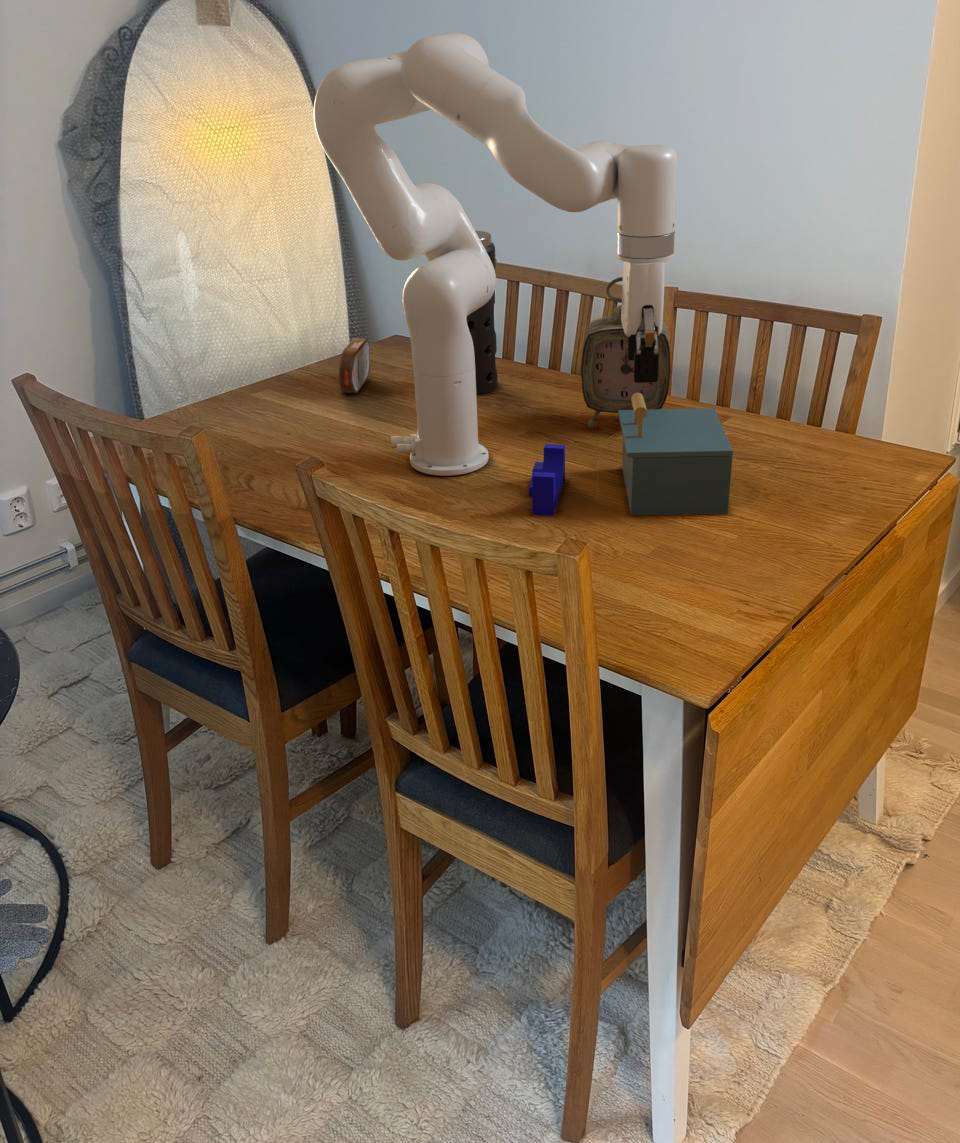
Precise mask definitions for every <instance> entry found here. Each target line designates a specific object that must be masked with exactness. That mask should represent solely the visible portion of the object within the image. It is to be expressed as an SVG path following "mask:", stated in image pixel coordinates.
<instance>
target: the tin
mask: <svg viewBox="0 0 960 1143" xmlns="http://www.w3.org/2000/svg"><path fill="white" fill-rule="evenodd" d="M370 348H371V345H370V342H369V340H368V339H367V338H359V337H353V338H352V339H351V341H349V343H348V344H347V345H346V346H345V347H344V349H343V350H342V352H341V355H340V360H339V370H338V381H339V382H338V383H339V388H340V391H341V393H342V394H357V393H358V392H359V391H360V390H361V389H362V387H363V386H364V385H365V383H366V382H367V380H368V378H369V374H370V369H371V359H370V356H371V355H370V353H371V352H370V350H371V349H370Z"/></svg>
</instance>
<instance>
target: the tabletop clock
mask: <svg viewBox="0 0 960 1143" xmlns="http://www.w3.org/2000/svg"><path fill="white" fill-rule="evenodd" d="M619 282H623V276H619V277H616V278H614V279H612V280H611V281H610V282H609V283H608V285H607V286H606V290H605V292H606V295H607V297H608V298H609V299H610V300H611V301H613V302H617V303H619V304H620V305H617V306H616V307H615V308H614V310H613V311H612V314H611V316H603V317H598V318H595V319H593V320H592V321H590V322H589V324H588V326H587V328H586V332H585V337H584V341H583V347H582V356H581V365H580V376H581V377H580V378H581V391H582V396H583V400H584V402H585V405H586V407H587V408H588V409H590V410H593V411H595V412H594V413H593V414H594V415H593V417H592V418H590V419H589V420H587V427H588V428H589V429H595V428H596V427H597V425H598V423H597V418H598V417H599V415H600V413H609V414H618V413H619V410H633V406H632V402H631V396H632V395H633V394H634V393H641V394H642V395H643V398H644V402H645V405H646V409H647V410H648V409H663V407H664V405H665V403H666V401H667V397H668V393H669V388H670V381H671V374H672V373H671V371H672V370H671V368H672V367H671V365H672V364H671V345H670V336H669V330H668V327H667V324H666V322H665V321H664V320H663V323H662V332H661V333H660V335H658V336H657V344H658V353H659V358H658V380H657V382H646V383H636V382H635V381H634V360H632V361H630V360H629V359H628V336H626V334H625V333H624V329H623V326H622V322H621V310H622V297H621V298H620V297H616V296H614V295H612V294H611V293H610V289H611V287H612V286H613V285H614V284H617V283H619Z"/></svg>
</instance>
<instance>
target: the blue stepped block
mask: <svg viewBox="0 0 960 1143" xmlns="http://www.w3.org/2000/svg"><path fill="white" fill-rule="evenodd" d="M565 482H566V444H557V443H545V444H544V446H543V461H535V462H534V465H533V466H532V472H531V478H530V484H529V488H528V491H529V492H528V497H532V515H537V516H551V517H552V516H553V517H554V516H555V513H556V509H557V506H558V503H559V501H560V498H561V494H562V491H563V488H564V485H565Z"/></svg>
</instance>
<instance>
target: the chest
mask: <svg viewBox="0 0 960 1143" xmlns="http://www.w3.org/2000/svg"><path fill="white" fill-rule="evenodd" d="M621 457H622V460H621V470H622V475H623V481H624V485H625V491H626V495H627V501H628V506H629V511H630V516H680V515H681V516H682V515H683V516H685V515H689V516H690V515H728V514H729V502H730V492H731V481H732V480H731V479H732V468H733V456H699V457H646V458H627V454H626V449H625V444H624V439H623V438H622V456H621Z"/></svg>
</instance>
